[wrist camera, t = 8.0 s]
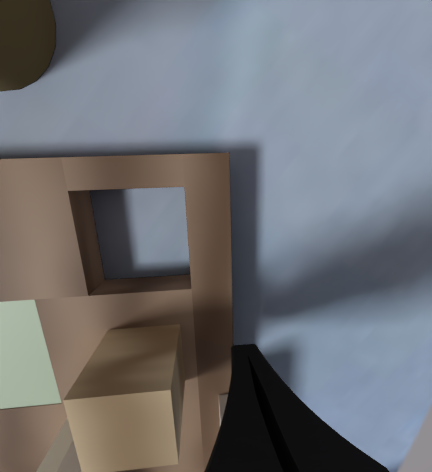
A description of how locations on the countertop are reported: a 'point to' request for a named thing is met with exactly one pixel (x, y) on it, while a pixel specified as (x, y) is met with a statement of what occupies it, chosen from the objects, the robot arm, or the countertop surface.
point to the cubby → (64, 452)
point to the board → (115, 286)
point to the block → (129, 401)
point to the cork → (25, 41)
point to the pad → (24, 358)
